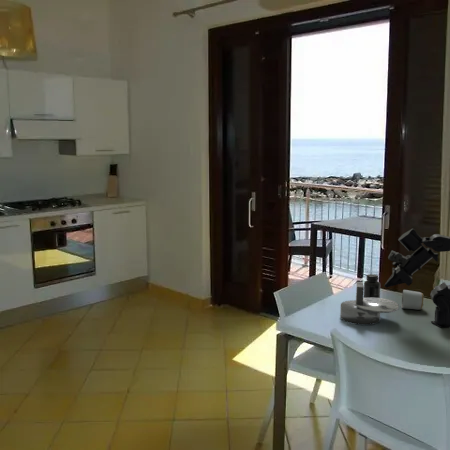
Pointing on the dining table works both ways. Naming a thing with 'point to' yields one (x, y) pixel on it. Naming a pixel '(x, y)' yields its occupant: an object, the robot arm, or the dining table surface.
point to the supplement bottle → (372, 286)
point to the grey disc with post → (373, 302)
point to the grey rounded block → (412, 300)
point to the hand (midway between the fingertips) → (385, 286)
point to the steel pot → (357, 314)
